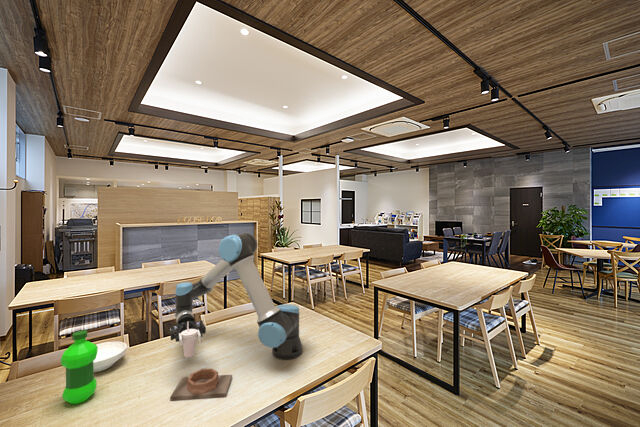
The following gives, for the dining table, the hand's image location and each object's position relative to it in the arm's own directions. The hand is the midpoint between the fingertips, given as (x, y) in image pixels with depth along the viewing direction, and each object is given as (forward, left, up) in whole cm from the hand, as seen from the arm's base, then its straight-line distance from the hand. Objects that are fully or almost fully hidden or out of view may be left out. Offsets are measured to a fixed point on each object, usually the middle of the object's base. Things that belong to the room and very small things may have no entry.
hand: (190, 340), depth 112 cm
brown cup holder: (-6, +1, -18) cm, 19 cm away
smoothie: (+3, -4, -8) cm, 10 cm away
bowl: (+48, -7, -19) cm, 52 cm away
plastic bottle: (+36, +13, -18) cm, 43 cm away
